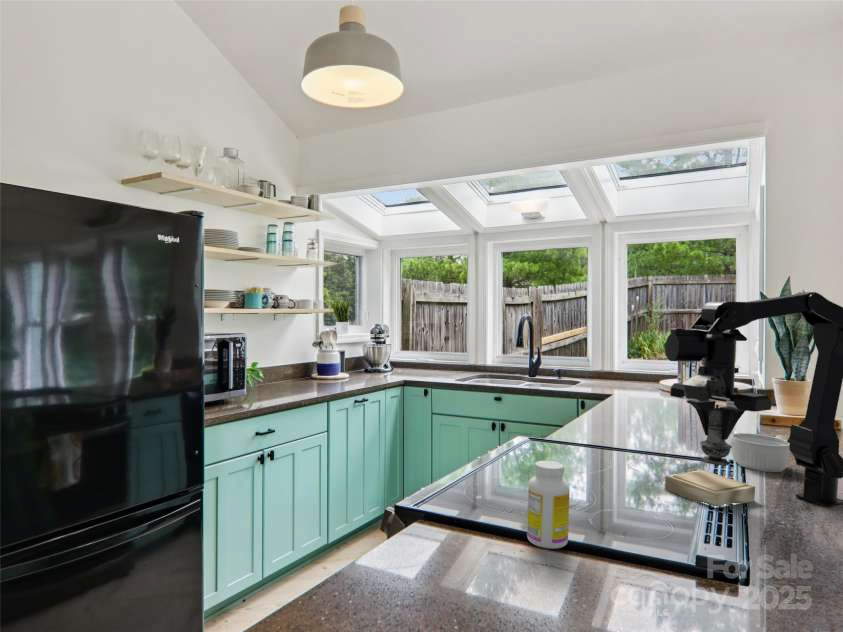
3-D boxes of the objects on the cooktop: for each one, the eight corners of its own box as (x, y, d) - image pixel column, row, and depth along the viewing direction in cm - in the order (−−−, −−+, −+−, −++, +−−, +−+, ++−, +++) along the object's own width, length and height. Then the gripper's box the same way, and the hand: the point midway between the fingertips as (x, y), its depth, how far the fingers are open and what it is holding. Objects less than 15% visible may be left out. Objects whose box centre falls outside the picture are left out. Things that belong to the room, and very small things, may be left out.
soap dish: (702, 483, 125) (702, 468, 125) (754, 501, 114) (755, 485, 114) (665, 489, 119) (665, 474, 119) (716, 509, 109) (716, 492, 109)
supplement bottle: (569, 536, 93) (572, 461, 93) (566, 553, 87) (569, 472, 87) (529, 530, 96) (532, 456, 95) (523, 546, 89) (526, 467, 89)
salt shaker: (735, 466, 111) (738, 407, 111) (704, 464, 112) (706, 405, 112) (725, 458, 117) (727, 402, 116) (695, 456, 118) (697, 400, 117)
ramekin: (773, 460, 146) (774, 434, 146) (802, 475, 133) (803, 447, 133) (720, 457, 147) (721, 431, 147) (744, 472, 134) (746, 444, 134)
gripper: (654, 358, 118) (651, 431, 119) (739, 369, 102) (735, 453, 102) (688, 357, 123) (685, 426, 124) (774, 367, 107) (771, 447, 107)
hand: (716, 437), depth 114 cm, fingers closed on salt shaker, 3 cm apart
